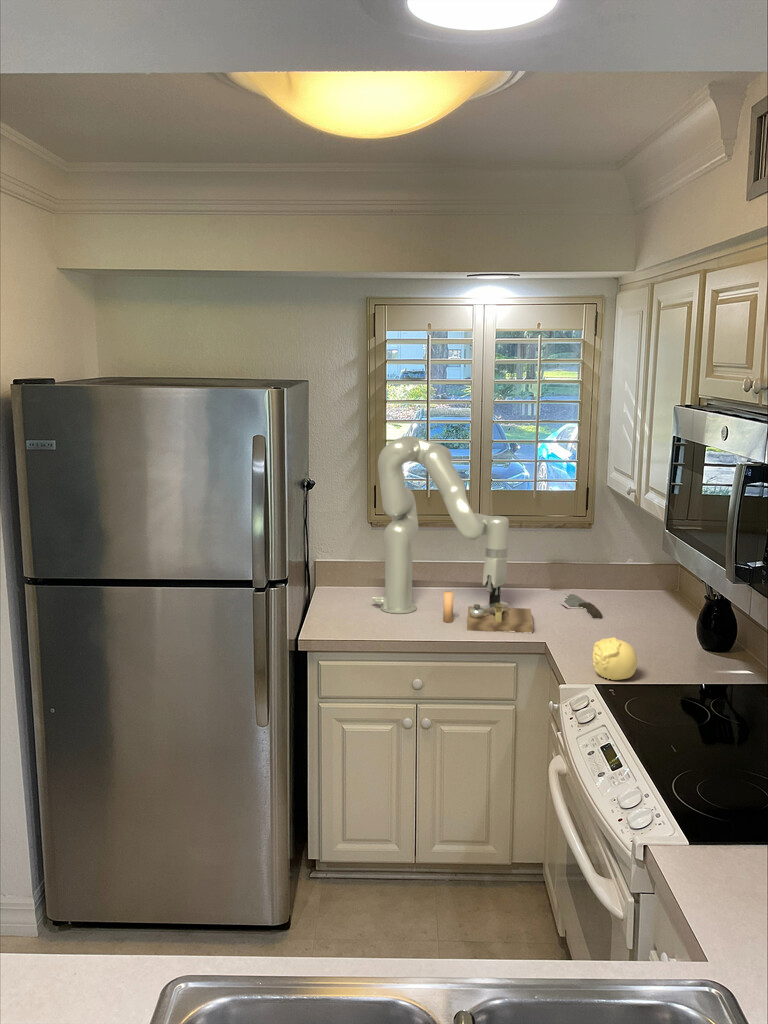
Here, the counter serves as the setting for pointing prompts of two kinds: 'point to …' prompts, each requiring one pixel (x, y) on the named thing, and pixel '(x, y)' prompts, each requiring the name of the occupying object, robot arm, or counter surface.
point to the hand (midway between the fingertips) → (494, 605)
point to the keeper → (498, 612)
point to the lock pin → (448, 607)
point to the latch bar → (486, 610)
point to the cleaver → (582, 605)
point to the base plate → (502, 621)
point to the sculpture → (614, 659)
